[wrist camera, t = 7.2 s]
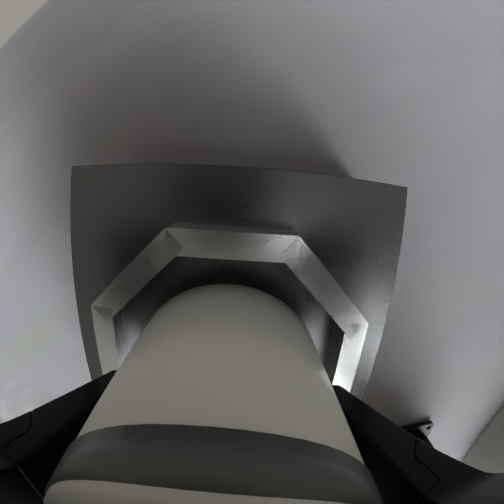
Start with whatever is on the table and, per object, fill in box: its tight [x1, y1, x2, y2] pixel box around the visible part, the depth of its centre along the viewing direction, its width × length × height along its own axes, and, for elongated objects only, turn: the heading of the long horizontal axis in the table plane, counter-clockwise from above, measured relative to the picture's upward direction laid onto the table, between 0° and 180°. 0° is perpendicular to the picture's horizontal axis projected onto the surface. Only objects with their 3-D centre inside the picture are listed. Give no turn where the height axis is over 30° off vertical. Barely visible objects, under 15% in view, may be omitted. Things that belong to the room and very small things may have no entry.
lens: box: [43, 284, 383, 504], centre depth 6 cm, size 6×6×7 cm
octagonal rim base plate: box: [71, 164, 407, 401], centre depth 12 cm, size 12×13×6 cm
